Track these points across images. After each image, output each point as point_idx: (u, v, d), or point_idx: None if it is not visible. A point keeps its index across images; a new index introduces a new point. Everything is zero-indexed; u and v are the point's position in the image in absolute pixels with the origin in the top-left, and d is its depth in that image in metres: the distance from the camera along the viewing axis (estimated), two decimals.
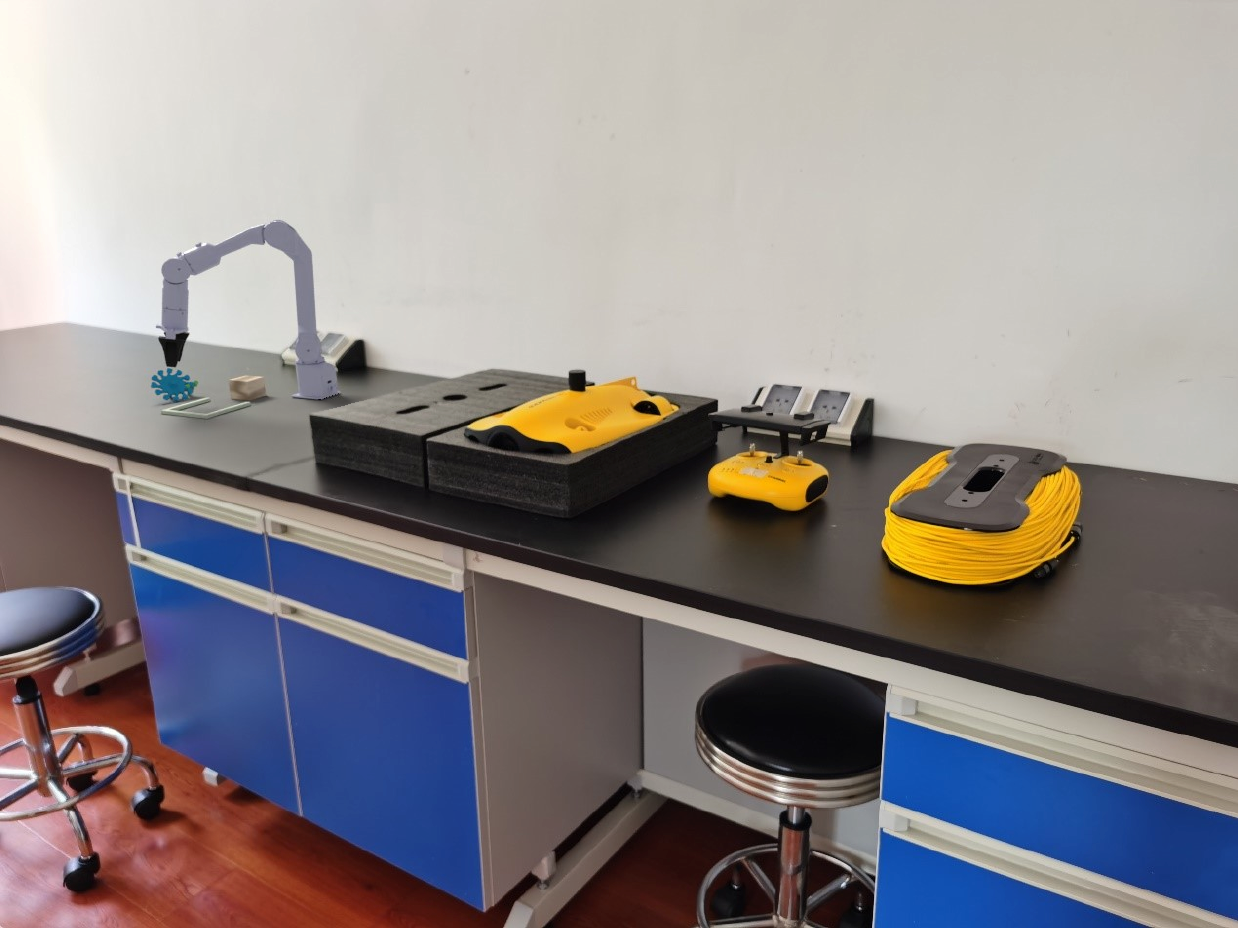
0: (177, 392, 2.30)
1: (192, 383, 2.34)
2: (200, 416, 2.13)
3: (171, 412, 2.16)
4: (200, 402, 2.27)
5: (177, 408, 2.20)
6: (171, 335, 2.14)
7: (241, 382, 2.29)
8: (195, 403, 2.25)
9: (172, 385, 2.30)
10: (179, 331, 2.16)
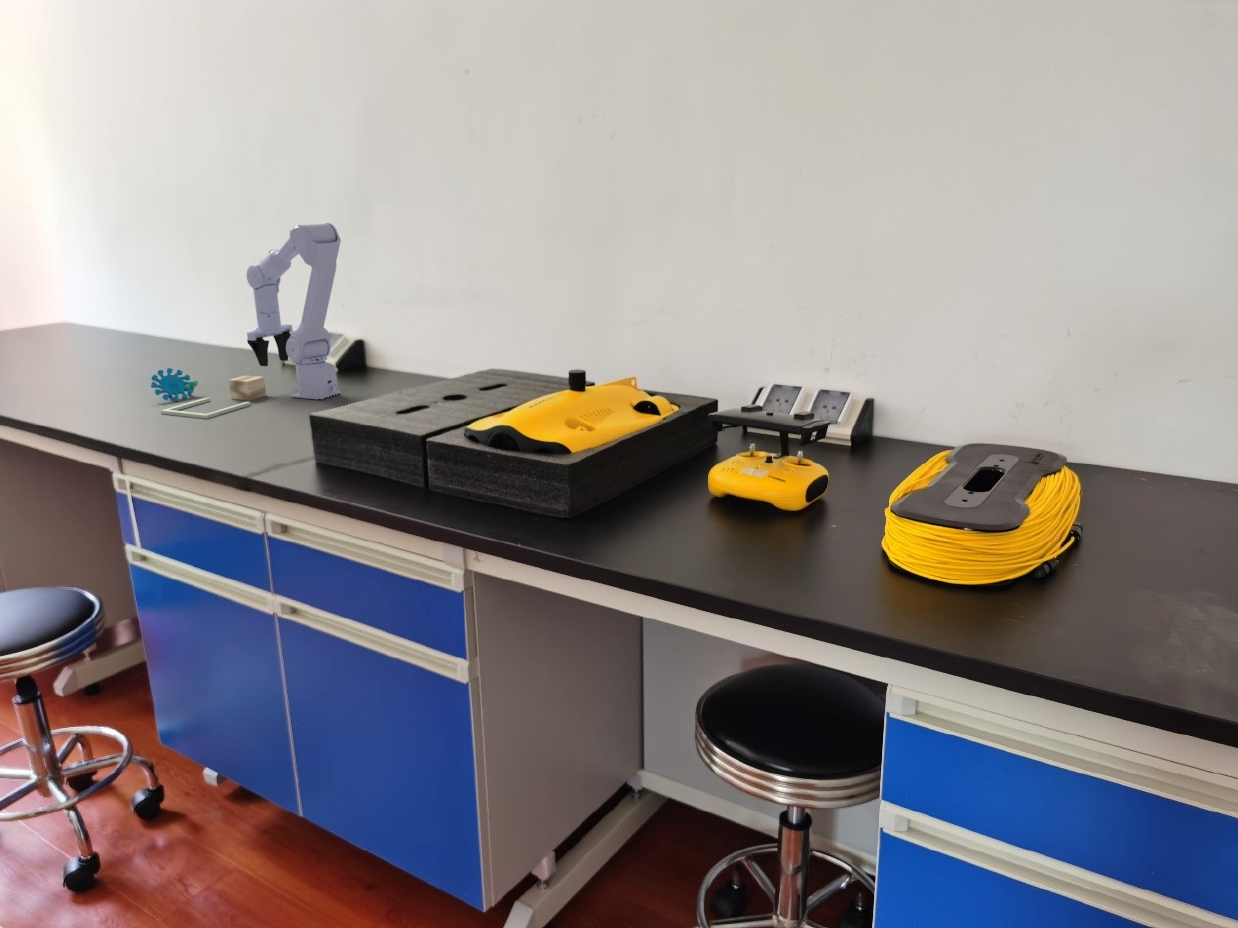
0: (177, 392, 2.30)
1: (192, 383, 2.34)
2: (200, 416, 2.13)
3: (171, 412, 2.16)
4: (200, 402, 2.27)
5: (177, 408, 2.20)
6: (250, 337, 2.32)
7: (241, 382, 2.29)
8: (195, 403, 2.25)
9: (172, 385, 2.30)
10: (262, 333, 2.34)
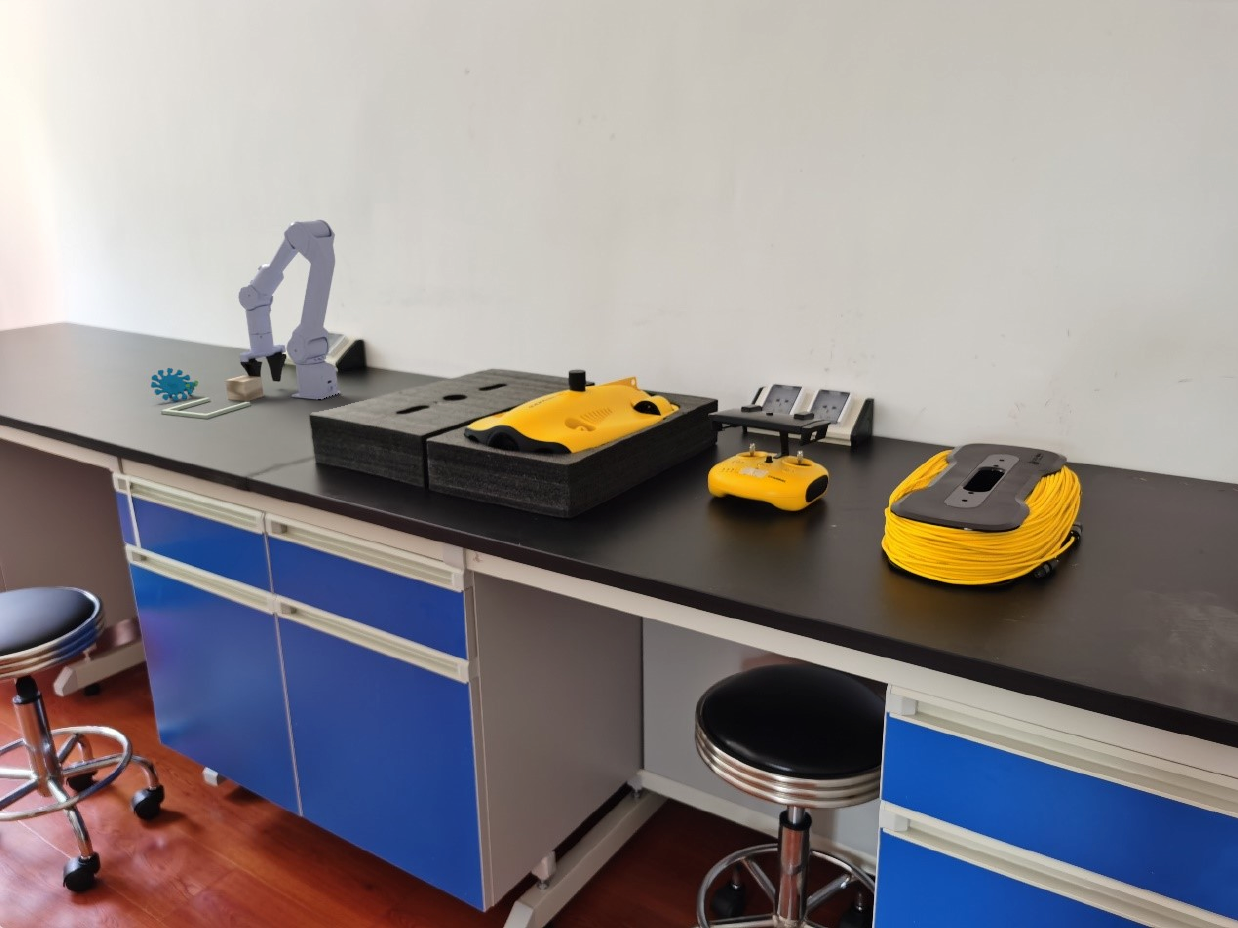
0: (177, 392, 2.30)
1: (192, 383, 2.34)
2: (200, 416, 2.13)
3: (171, 412, 2.16)
4: (200, 402, 2.27)
5: (177, 408, 2.20)
6: (243, 358, 2.30)
7: (238, 382, 2.29)
8: (195, 403, 2.25)
9: (172, 385, 2.30)
10: (254, 354, 2.32)
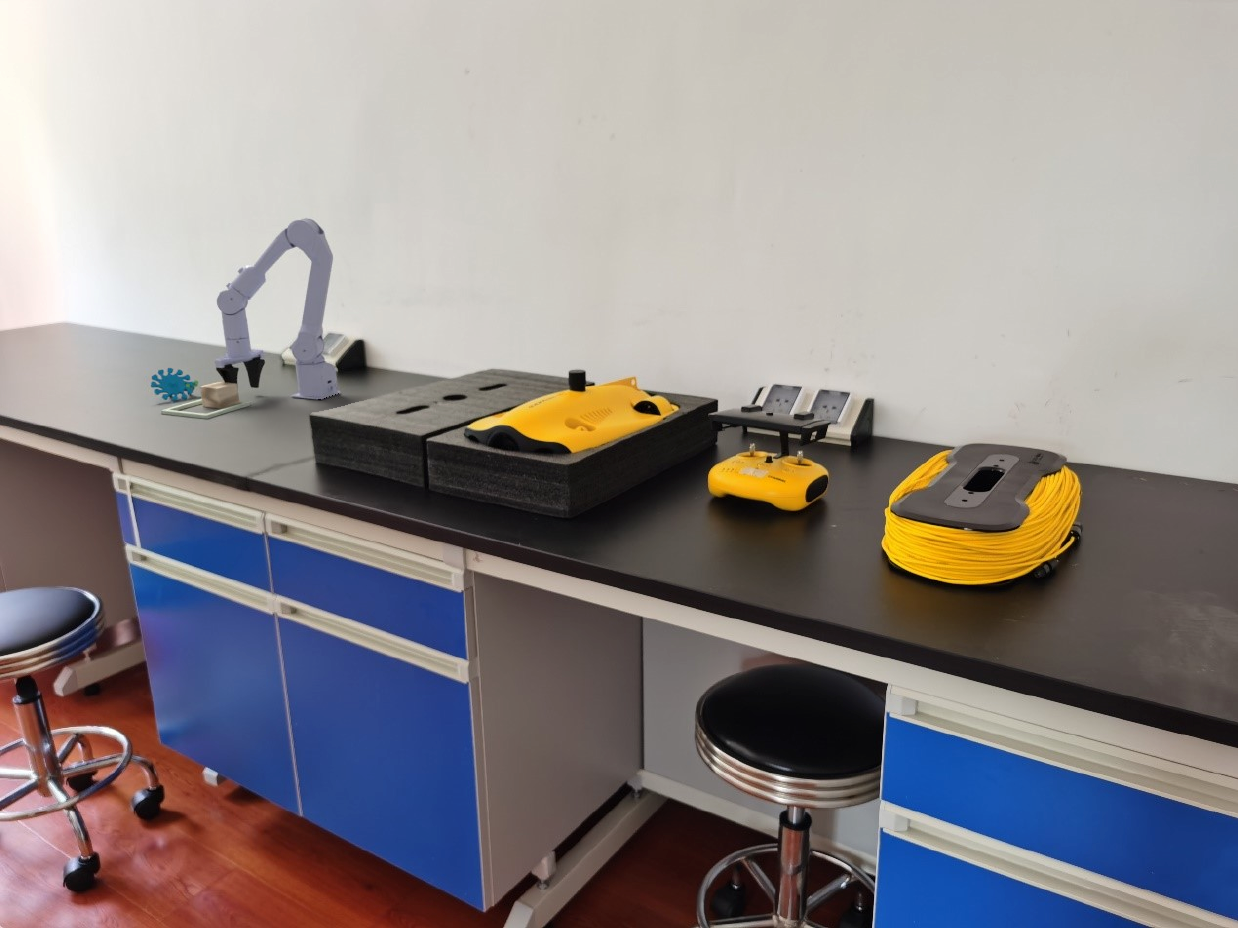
0: (176, 392, 2.30)
1: (192, 383, 2.34)
2: (200, 416, 2.13)
3: (171, 412, 2.16)
4: (200, 402, 2.27)
5: (177, 408, 2.20)
6: (218, 364, 2.23)
7: (212, 389, 2.21)
8: (195, 403, 2.25)
9: (172, 385, 2.31)
10: (231, 359, 2.25)
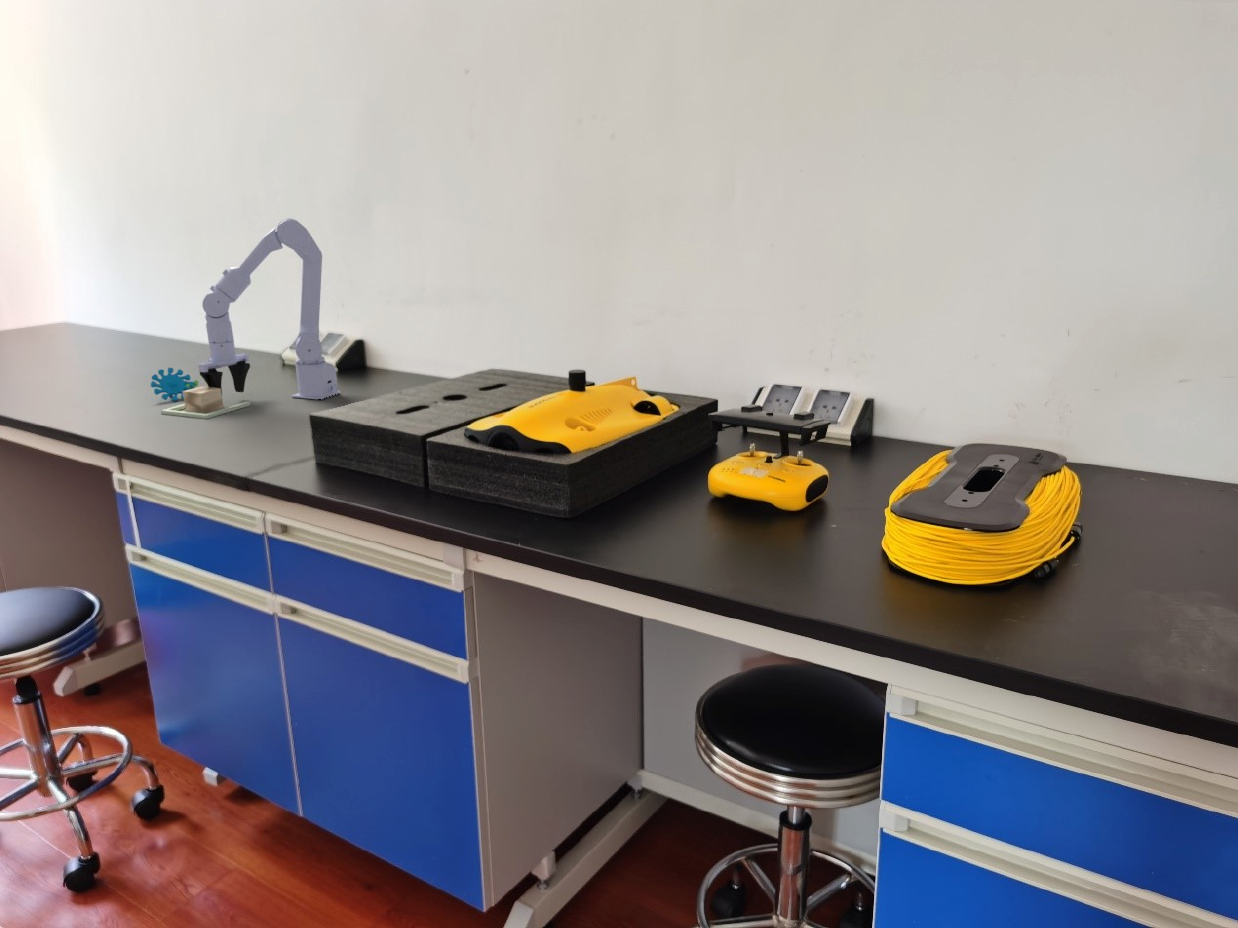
0: (176, 392, 2.31)
1: (192, 383, 2.34)
2: (200, 416, 2.13)
3: (171, 412, 2.16)
4: None
5: (177, 408, 2.20)
6: (202, 368, 2.19)
7: (195, 394, 2.17)
8: None
9: (171, 385, 2.31)
10: (215, 364, 2.20)
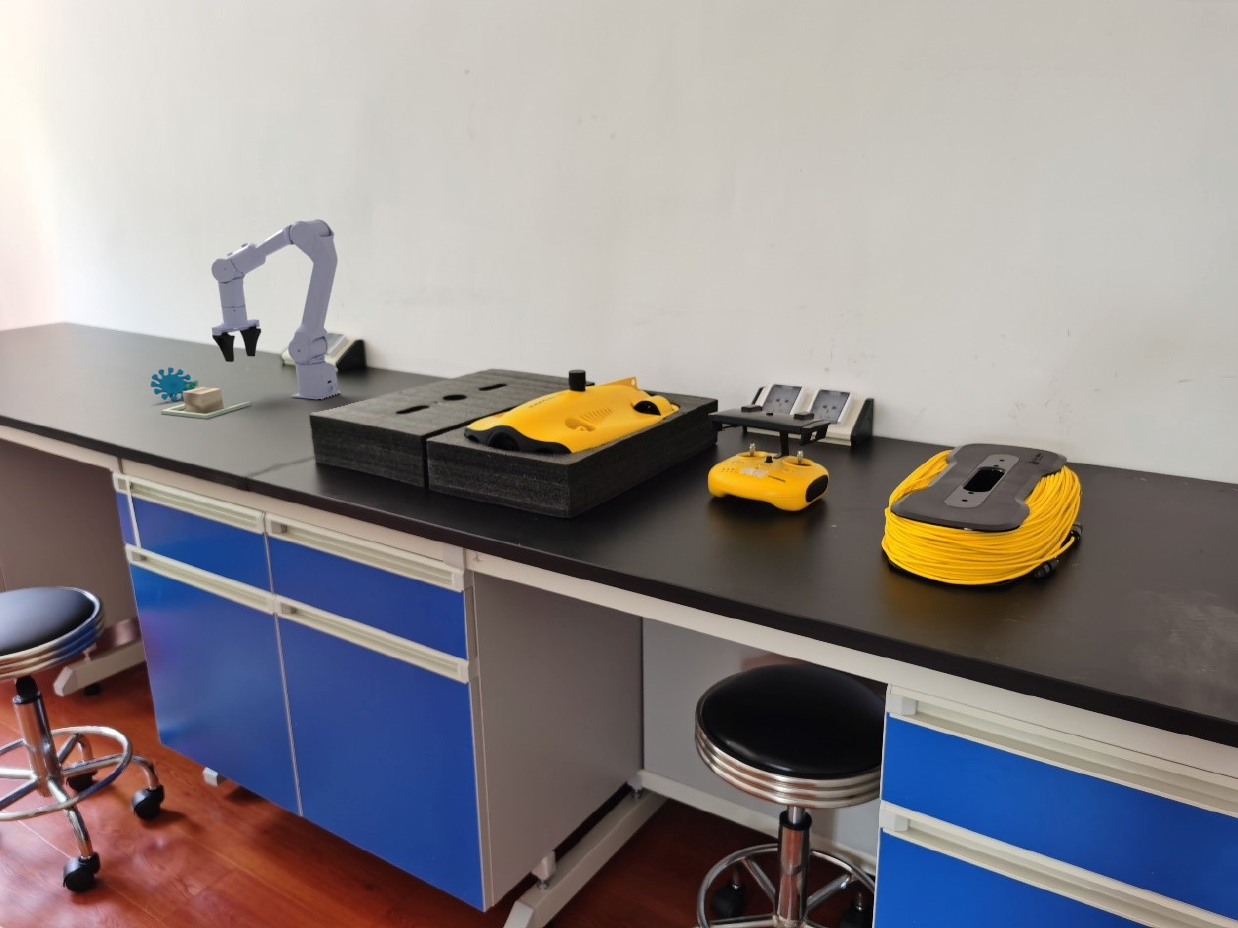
0: (176, 392, 2.31)
1: (192, 383, 2.34)
2: (200, 416, 2.13)
3: (171, 412, 2.16)
4: None
5: (177, 408, 2.20)
6: (215, 331, 2.26)
7: (195, 394, 2.17)
8: None
9: (171, 384, 2.31)
10: (228, 327, 2.28)
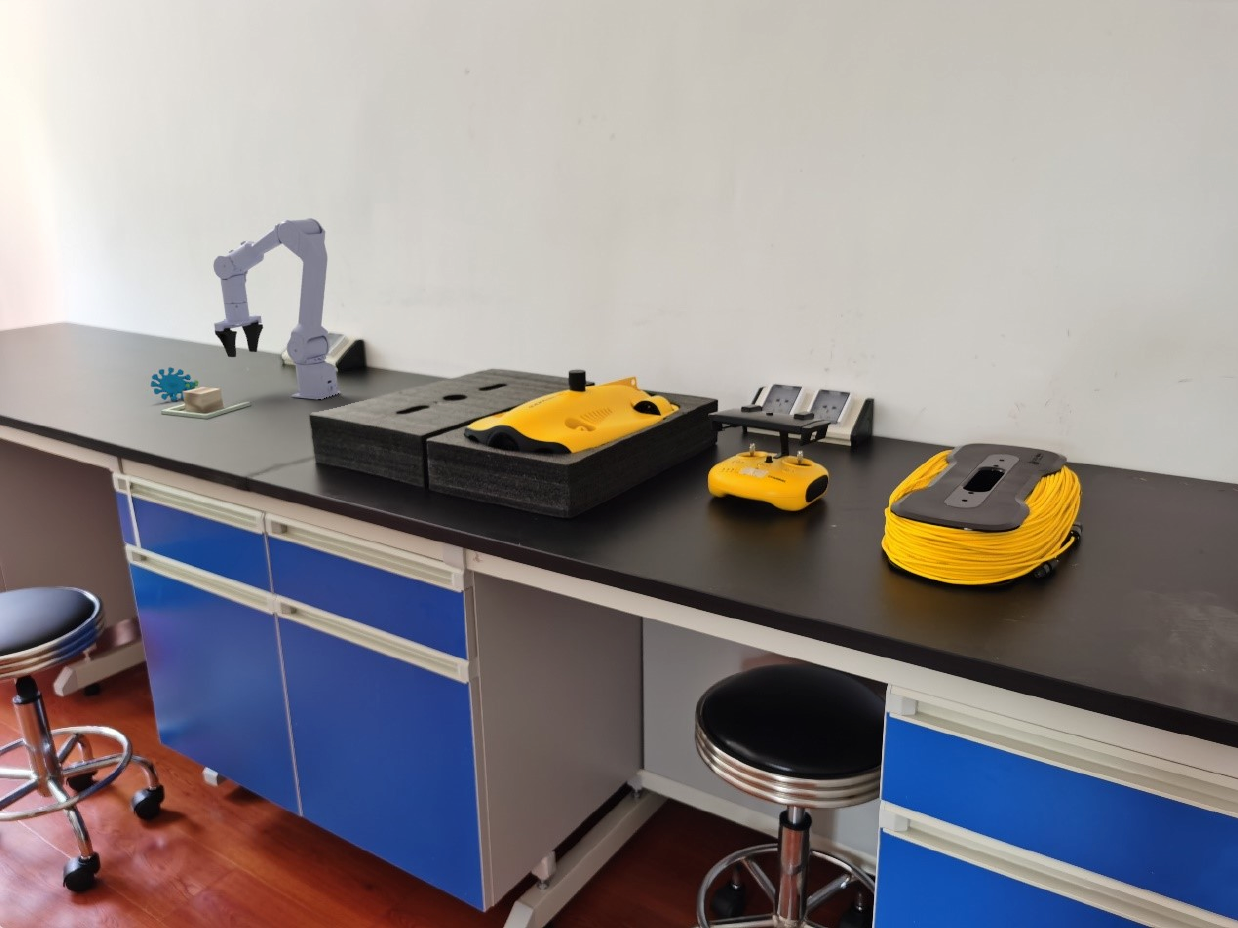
0: (176, 391, 2.31)
1: (192, 383, 2.34)
2: (200, 416, 2.13)
3: (171, 412, 2.16)
4: None
5: (177, 408, 2.20)
6: (218, 327, 2.31)
7: (195, 394, 2.17)
8: None
9: (171, 384, 2.31)
10: (230, 323, 2.32)
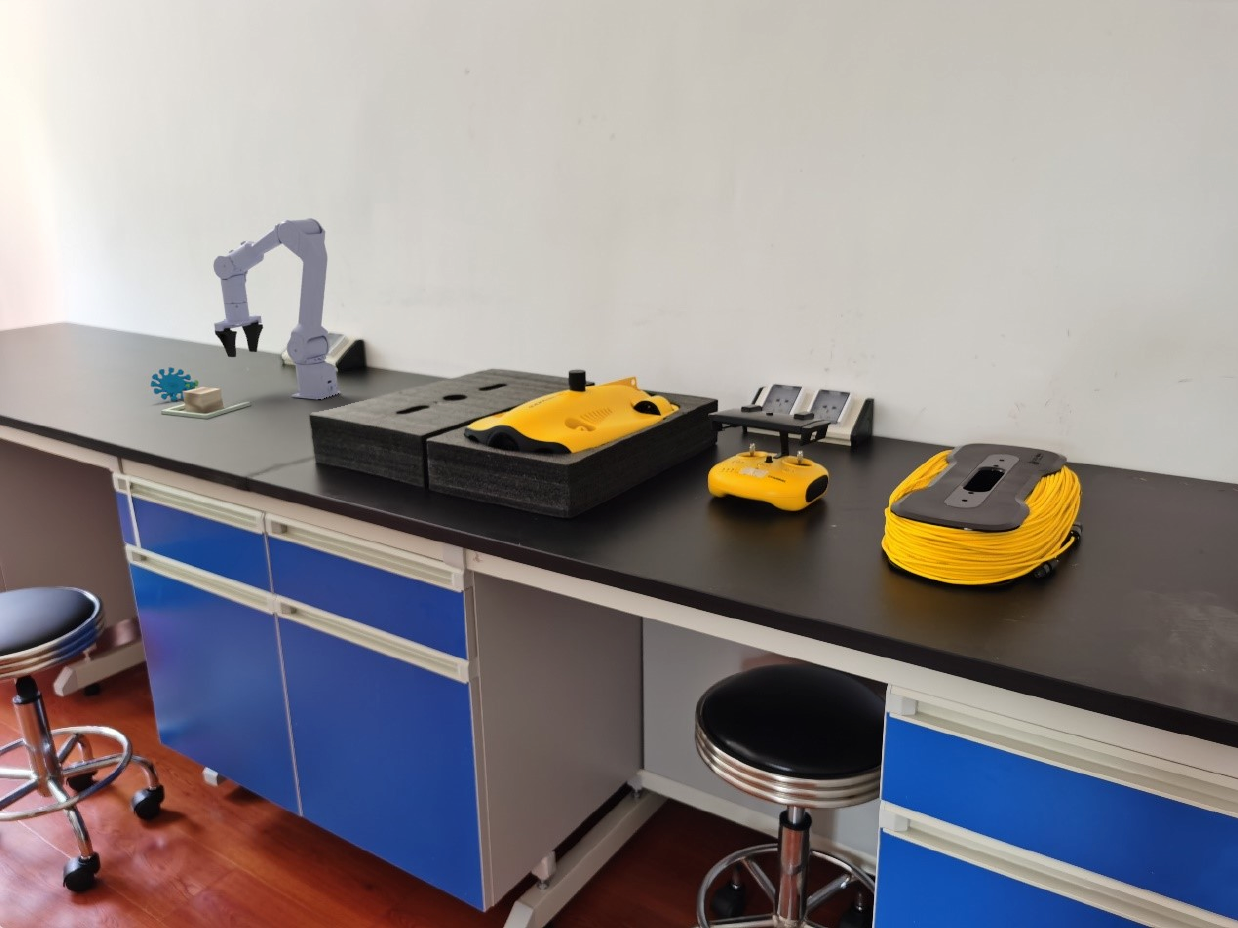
0: (176, 391, 2.31)
1: (192, 383, 2.34)
2: (200, 416, 2.13)
3: (171, 412, 2.16)
4: None
5: (177, 408, 2.20)
6: (218, 327, 2.31)
7: (195, 394, 2.17)
8: None
9: (171, 384, 2.31)
10: (230, 323, 2.32)
